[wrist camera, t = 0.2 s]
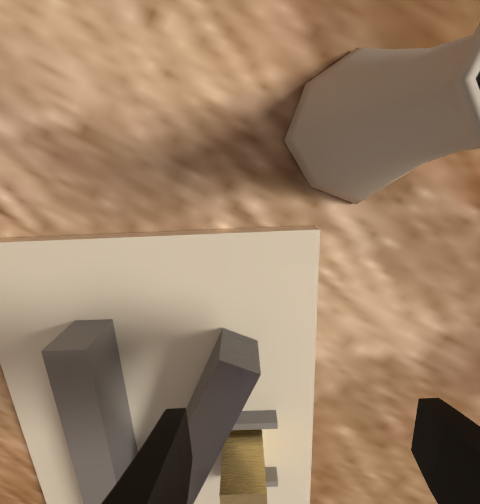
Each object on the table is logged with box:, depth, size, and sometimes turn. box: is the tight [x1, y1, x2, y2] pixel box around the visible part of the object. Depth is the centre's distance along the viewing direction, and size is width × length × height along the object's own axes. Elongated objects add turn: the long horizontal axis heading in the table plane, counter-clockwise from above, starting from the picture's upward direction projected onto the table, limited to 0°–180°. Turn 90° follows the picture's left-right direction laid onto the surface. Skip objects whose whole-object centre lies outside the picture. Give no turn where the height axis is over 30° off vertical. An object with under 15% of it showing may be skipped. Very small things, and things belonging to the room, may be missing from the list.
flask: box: [284, 23, 480, 204], centre depth 10 cm, size 7×7×10 cm
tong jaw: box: [186, 328, 261, 504], centre depth 17 cm, size 15×2×4 cm, turn 157°
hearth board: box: [0, 225, 320, 504], centre depth 18 cm, size 24×20×4 cm
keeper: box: [219, 429, 267, 504], centre depth 17 cm, size 4×2×4 cm, turn 2°
